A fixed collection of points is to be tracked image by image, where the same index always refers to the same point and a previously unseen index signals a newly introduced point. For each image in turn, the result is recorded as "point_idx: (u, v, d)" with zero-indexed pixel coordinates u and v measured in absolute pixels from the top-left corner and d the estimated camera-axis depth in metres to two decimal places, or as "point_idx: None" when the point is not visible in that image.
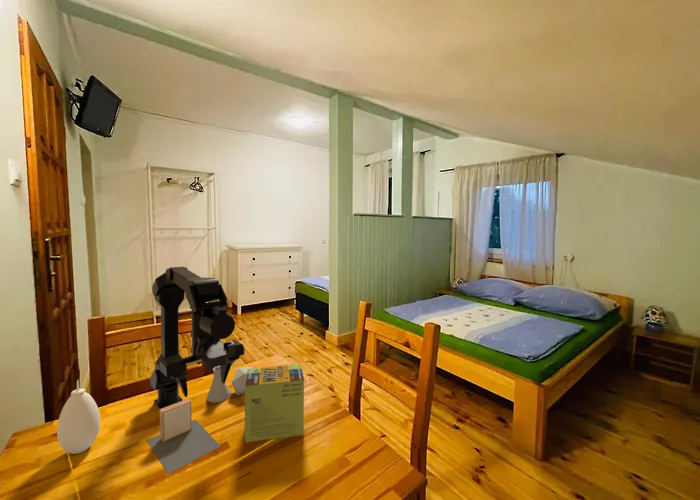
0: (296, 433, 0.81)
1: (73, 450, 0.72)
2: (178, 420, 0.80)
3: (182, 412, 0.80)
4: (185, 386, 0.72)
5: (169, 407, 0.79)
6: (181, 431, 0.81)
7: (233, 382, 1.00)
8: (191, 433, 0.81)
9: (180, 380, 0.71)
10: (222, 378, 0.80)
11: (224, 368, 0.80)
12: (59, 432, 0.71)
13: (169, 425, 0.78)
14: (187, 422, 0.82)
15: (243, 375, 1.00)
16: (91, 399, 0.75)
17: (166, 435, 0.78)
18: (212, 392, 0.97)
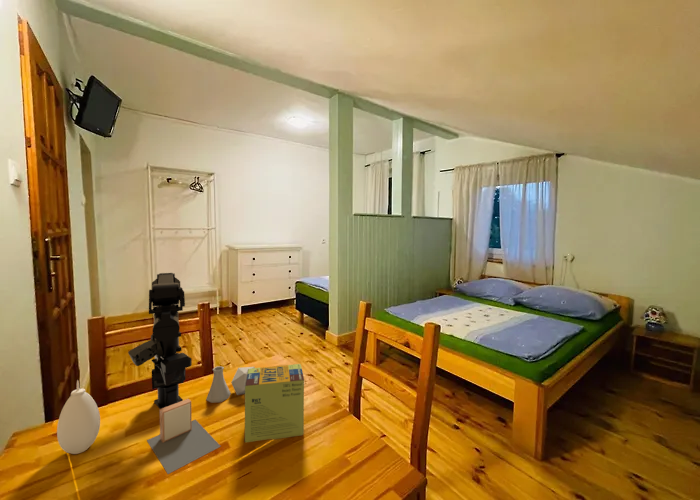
0: (296, 433, 0.81)
1: (73, 450, 0.72)
2: (178, 420, 0.80)
3: (182, 412, 0.80)
4: (162, 374, 0.84)
5: (169, 407, 0.79)
6: (181, 431, 0.81)
7: (233, 382, 1.00)
8: (191, 433, 0.81)
9: None
10: None
11: None
12: (59, 432, 0.71)
13: (169, 425, 0.78)
14: (187, 422, 0.82)
15: (243, 375, 1.00)
16: (91, 399, 0.75)
17: (166, 435, 0.78)
18: (212, 392, 0.97)
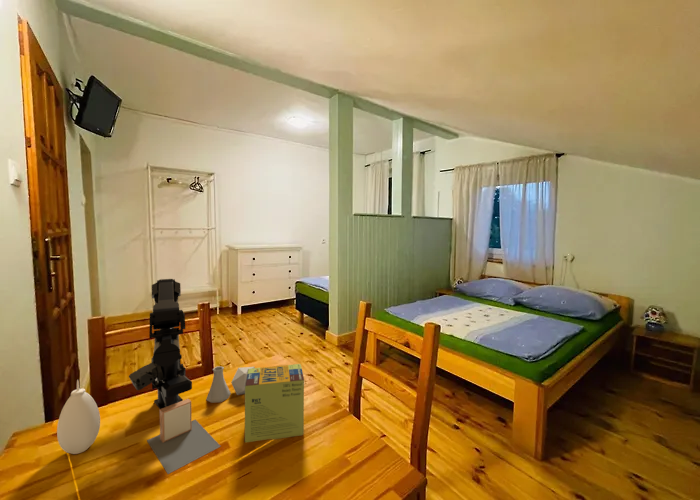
0: (296, 433, 0.81)
1: (73, 450, 0.72)
2: (178, 420, 0.80)
3: (182, 412, 0.80)
4: (162, 396, 0.84)
5: (169, 407, 0.79)
6: (181, 431, 0.81)
7: (233, 382, 1.00)
8: (191, 433, 0.81)
9: None
10: None
11: None
12: (59, 432, 0.71)
13: (169, 425, 0.78)
14: (187, 422, 0.82)
15: (243, 375, 1.00)
16: (91, 399, 0.75)
17: (166, 435, 0.78)
18: (212, 392, 0.97)
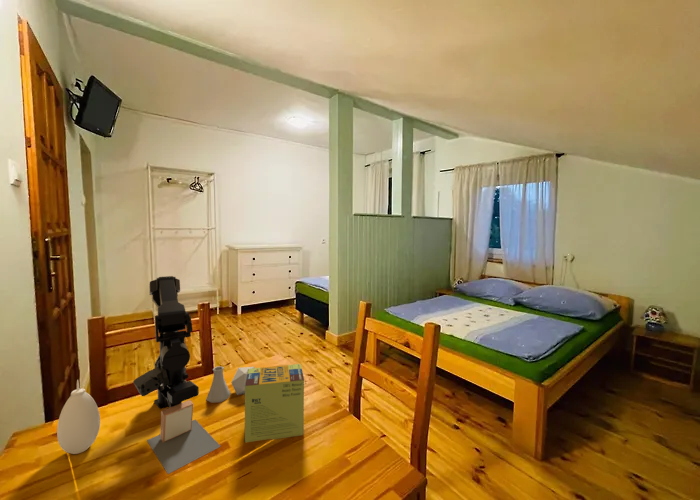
0: (296, 433, 0.81)
1: (73, 450, 0.72)
2: (179, 422, 0.79)
3: (184, 414, 0.80)
4: (168, 403, 0.81)
5: (171, 409, 0.78)
6: (181, 432, 0.80)
7: (233, 382, 1.00)
8: (191, 433, 0.81)
9: None
10: None
11: None
12: (59, 432, 0.71)
13: (170, 427, 0.78)
14: (188, 423, 0.81)
15: (243, 375, 1.00)
16: (91, 399, 0.75)
17: (166, 436, 0.78)
18: (212, 392, 0.97)
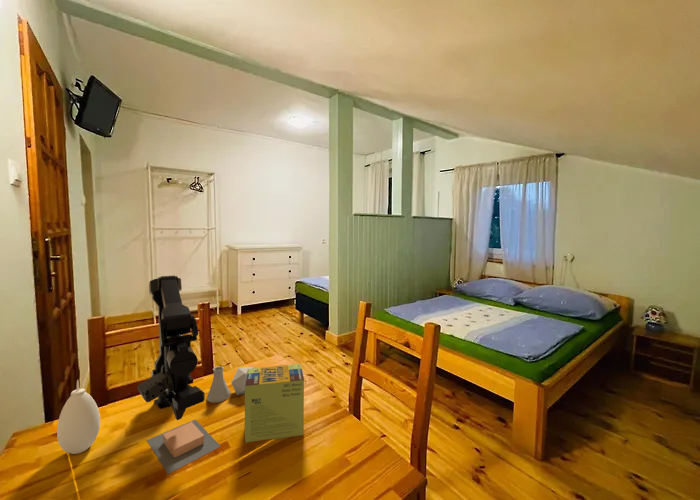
0: (296, 433, 0.81)
1: (73, 450, 0.72)
2: None
3: None
4: (173, 408, 0.79)
5: (183, 449, 0.74)
6: None
7: (233, 382, 1.00)
8: None
9: None
10: None
11: None
12: (59, 432, 0.71)
13: None
14: None
15: (243, 375, 1.00)
16: (91, 399, 0.75)
17: None
18: (212, 392, 0.97)
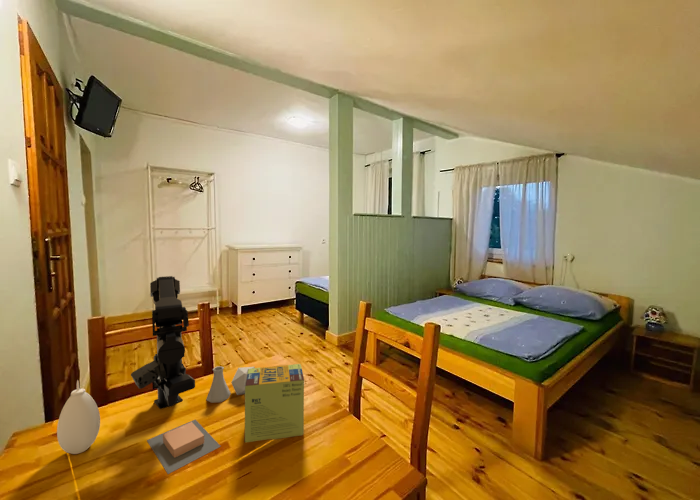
0: (296, 433, 0.81)
1: (73, 450, 0.72)
2: None
3: None
4: (165, 395, 0.82)
5: (183, 449, 0.74)
6: None
7: (233, 382, 1.00)
8: None
9: None
10: None
11: None
12: (59, 432, 0.71)
13: None
14: None
15: (243, 375, 1.00)
16: (91, 399, 0.75)
17: None
18: (212, 392, 0.97)
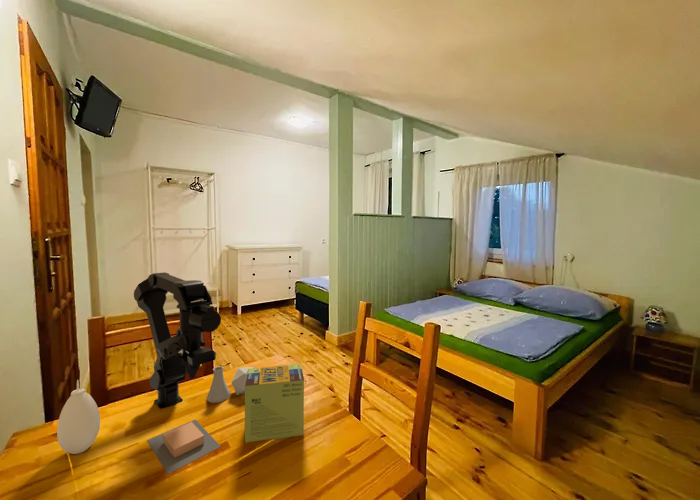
0: (296, 433, 0.81)
1: (73, 450, 0.72)
2: None
3: None
4: (186, 368, 0.87)
5: (183, 449, 0.74)
6: None
7: (233, 382, 1.00)
8: None
9: (183, 360, 0.88)
10: None
11: None
12: (59, 432, 0.71)
13: None
14: None
15: (243, 375, 1.00)
16: (91, 399, 0.75)
17: None
18: (212, 392, 0.97)
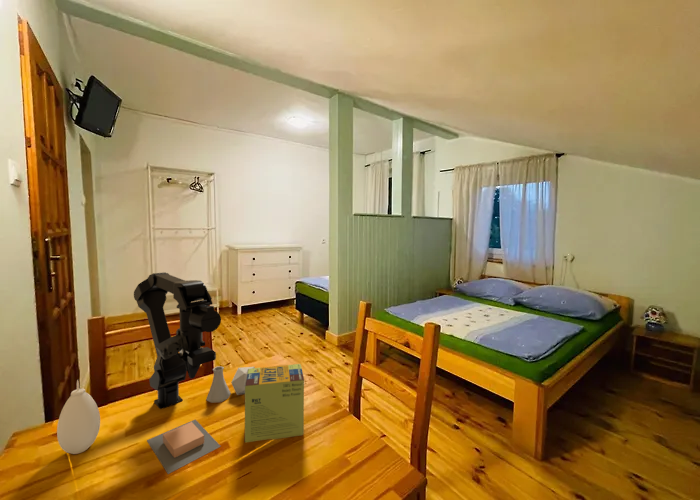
0: (296, 433, 0.81)
1: (73, 450, 0.72)
2: None
3: None
4: (187, 368, 0.87)
5: (183, 449, 0.74)
6: None
7: (233, 382, 1.00)
8: None
9: (183, 360, 0.88)
10: None
11: None
12: (59, 432, 0.71)
13: None
14: None
15: (243, 375, 1.00)
16: (91, 399, 0.75)
17: None
18: (212, 392, 0.97)
